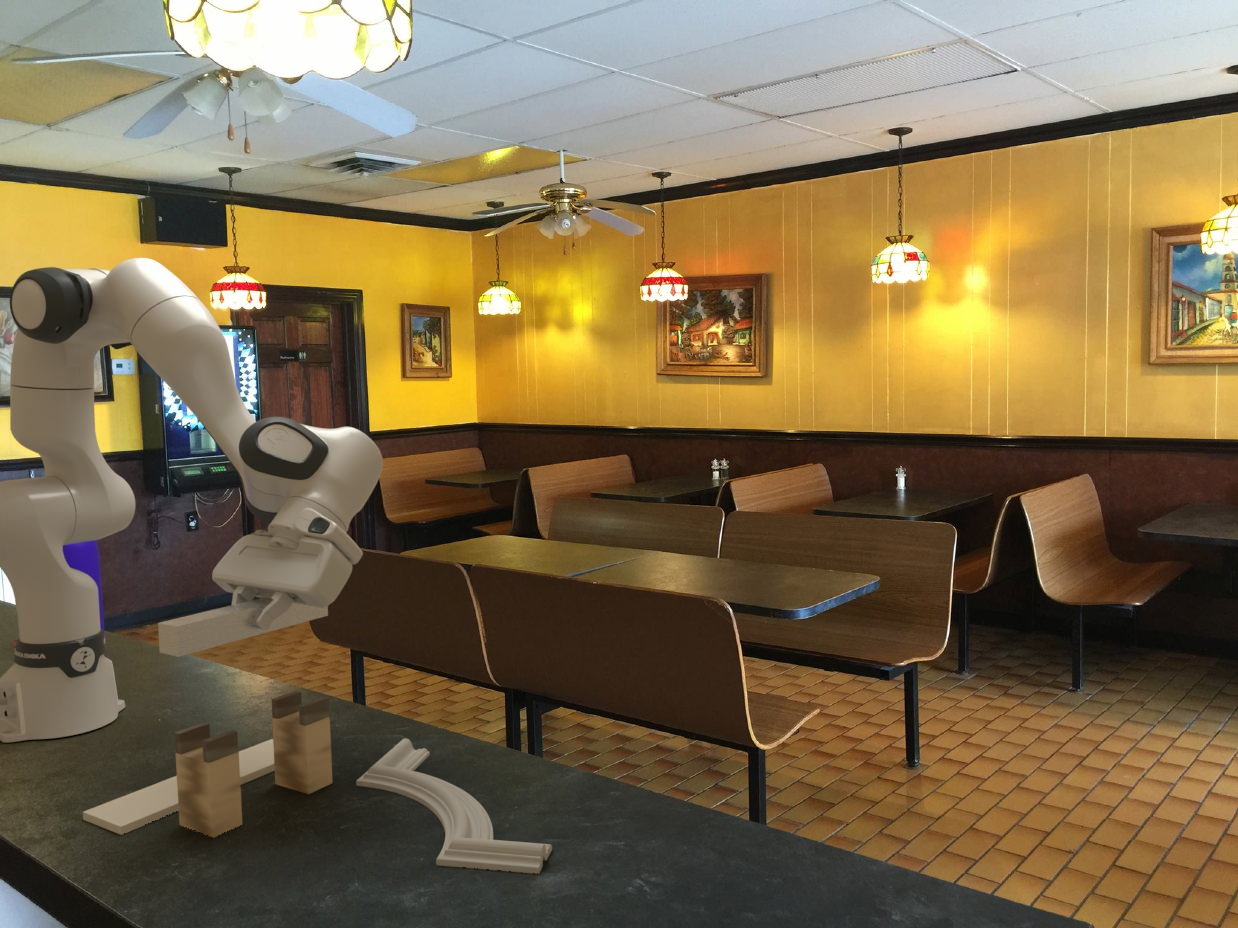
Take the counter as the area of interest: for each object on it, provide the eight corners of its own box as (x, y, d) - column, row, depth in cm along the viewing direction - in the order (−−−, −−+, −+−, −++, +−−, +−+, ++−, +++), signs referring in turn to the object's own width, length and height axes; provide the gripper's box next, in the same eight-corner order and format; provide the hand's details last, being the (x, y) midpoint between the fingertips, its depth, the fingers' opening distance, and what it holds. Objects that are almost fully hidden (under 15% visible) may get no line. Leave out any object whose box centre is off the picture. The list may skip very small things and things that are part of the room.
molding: (569, 869, 109) (569, 843, 109) (468, 901, 102) (467, 874, 102) (419, 751, 144) (418, 731, 144) (336, 769, 137) (335, 748, 137)
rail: (159, 652, 115) (158, 622, 115) (310, 612, 134) (308, 586, 133) (178, 656, 113) (176, 626, 113) (328, 615, 132) (327, 589, 131)
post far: (275, 783, 131) (271, 699, 130) (299, 773, 135) (295, 690, 134) (308, 794, 128) (304, 706, 127) (332, 782, 131) (328, 698, 130)
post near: (179, 825, 119) (174, 732, 118) (208, 812, 123) (203, 722, 122) (213, 837, 116) (208, 742, 115) (242, 824, 119) (237, 731, 118)
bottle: (72, 664, 188) (61, 507, 186) (49, 658, 193) (38, 505, 190) (114, 654, 195) (105, 502, 193) (91, 648, 200) (81, 500, 197)
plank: (83, 819, 121) (82, 811, 121) (272, 745, 145) (271, 738, 145) (121, 834, 117) (121, 826, 117) (309, 755, 141) (309, 748, 141)
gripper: (237, 514, 134) (175, 601, 126) (344, 525, 123) (284, 620, 115) (266, 542, 138) (208, 627, 130) (372, 555, 127) (315, 648, 120)
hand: (244, 624), depth 123 cm, fingers closed on rail, 3 cm apart
